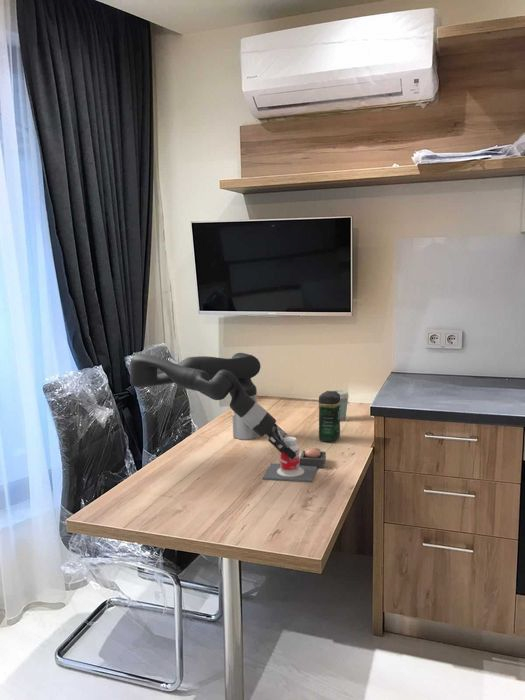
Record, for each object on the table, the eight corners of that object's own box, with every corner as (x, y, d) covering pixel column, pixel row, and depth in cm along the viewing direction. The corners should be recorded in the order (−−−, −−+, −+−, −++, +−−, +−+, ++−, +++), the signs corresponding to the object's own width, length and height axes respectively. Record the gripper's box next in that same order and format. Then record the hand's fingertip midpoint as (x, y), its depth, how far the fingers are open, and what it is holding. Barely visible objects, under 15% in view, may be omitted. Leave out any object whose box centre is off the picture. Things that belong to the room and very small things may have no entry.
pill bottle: (277, 469, 194) (277, 437, 192) (295, 466, 196) (294, 434, 194) (284, 475, 189) (283, 442, 187) (302, 472, 190) (301, 440, 189)
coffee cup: (352, 418, 252) (352, 391, 250) (341, 423, 246) (340, 395, 244) (336, 415, 258) (336, 389, 256) (324, 419, 252) (324, 392, 250)
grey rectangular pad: (262, 479, 188) (262, 477, 188) (270, 464, 200) (270, 462, 200) (312, 482, 184) (312, 480, 184) (317, 467, 197) (317, 465, 197)
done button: (304, 457, 198) (304, 452, 198) (306, 452, 203) (306, 447, 203) (319, 458, 197) (319, 452, 197) (321, 453, 202) (321, 447, 202)
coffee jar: (337, 443, 220) (337, 395, 217) (317, 442, 223) (316, 394, 220) (342, 436, 229) (342, 389, 226) (322, 434, 232) (321, 388, 229)
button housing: (299, 466, 198) (299, 458, 197) (303, 458, 205) (302, 450, 205) (323, 468, 196) (323, 459, 196) (325, 459, 204) (325, 451, 203)
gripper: (251, 420, 197) (286, 453, 199) (249, 433, 183) (286, 468, 185) (267, 405, 196) (301, 437, 198) (265, 417, 182) (302, 452, 184)
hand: (294, 452), depth 191 cm, fingers open, 8 cm apart
